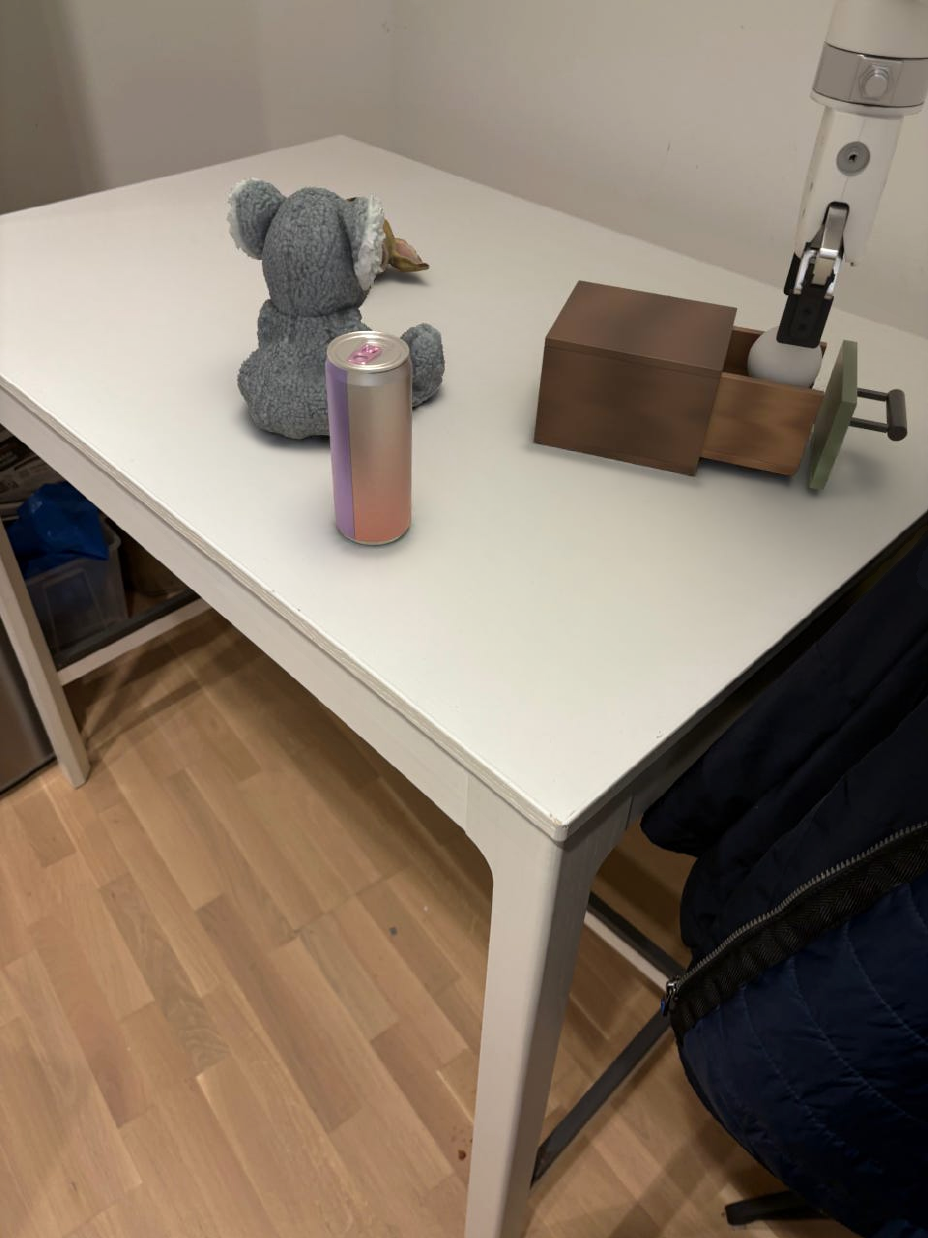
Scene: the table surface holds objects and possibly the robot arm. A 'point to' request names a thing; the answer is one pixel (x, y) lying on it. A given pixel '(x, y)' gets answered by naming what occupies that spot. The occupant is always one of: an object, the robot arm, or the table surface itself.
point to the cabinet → (632, 375)
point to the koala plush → (312, 299)
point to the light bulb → (783, 361)
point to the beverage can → (370, 434)
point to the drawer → (790, 414)
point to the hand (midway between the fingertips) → (799, 319)
